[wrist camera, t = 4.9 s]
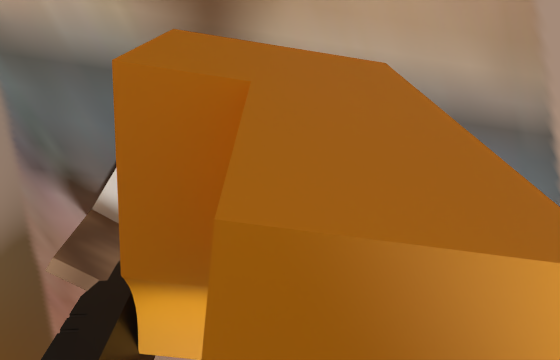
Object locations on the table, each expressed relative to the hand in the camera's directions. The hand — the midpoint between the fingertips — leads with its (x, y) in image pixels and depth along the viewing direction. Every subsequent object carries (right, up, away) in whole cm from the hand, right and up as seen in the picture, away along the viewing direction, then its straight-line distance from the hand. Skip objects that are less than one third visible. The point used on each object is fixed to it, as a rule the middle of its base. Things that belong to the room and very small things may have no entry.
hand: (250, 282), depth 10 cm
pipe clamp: (0, 0, +1) cm, 1 cm away
